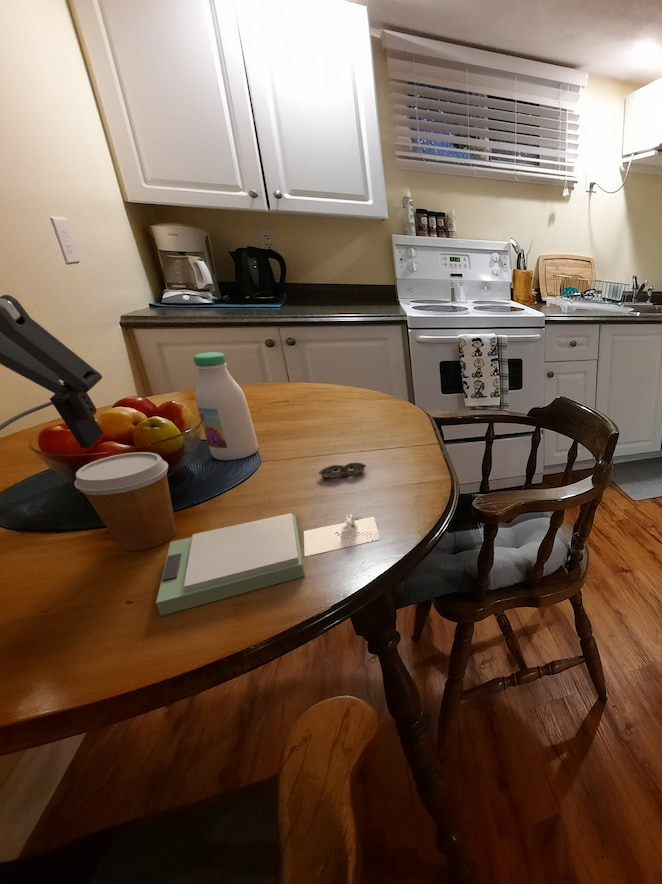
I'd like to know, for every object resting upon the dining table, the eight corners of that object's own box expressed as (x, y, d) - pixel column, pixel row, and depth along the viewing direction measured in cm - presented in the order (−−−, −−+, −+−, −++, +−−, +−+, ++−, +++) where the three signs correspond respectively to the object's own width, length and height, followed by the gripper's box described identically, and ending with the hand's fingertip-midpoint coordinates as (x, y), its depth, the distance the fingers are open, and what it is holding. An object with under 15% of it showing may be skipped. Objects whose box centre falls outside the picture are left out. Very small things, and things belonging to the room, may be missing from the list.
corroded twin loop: (367, 476, 92) (366, 471, 91) (319, 483, 89) (318, 478, 88) (366, 464, 96) (365, 460, 95) (319, 471, 93) (318, 466, 92)
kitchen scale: (174, 553, 69) (168, 536, 68) (297, 525, 77) (293, 510, 75) (161, 616, 58) (153, 597, 57) (304, 576, 66) (300, 559, 65)
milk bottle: (256, 442, 103) (231, 347, 95) (262, 455, 98) (236, 356, 89) (210, 450, 98) (180, 352, 90) (214, 465, 93) (182, 361, 85)
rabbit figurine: (359, 537, 75) (356, 519, 73) (341, 541, 74) (337, 523, 72) (357, 527, 77) (354, 509, 76) (339, 531, 76) (336, 513, 75)
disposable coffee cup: (123, 525, 74) (93, 454, 69) (199, 516, 77) (176, 447, 72) (89, 563, 66) (53, 486, 61) (176, 551, 69) (148, 477, 64)
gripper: (-424, 238, 34) (-174, 465, 47) (25, 267, 41) (136, 461, 54) (-299, 209, 40) (-106, 419, 53) (79, 239, 46) (168, 420, 59)
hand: (16, 441), depth 53 cm, fingers open, 13 cm apart
